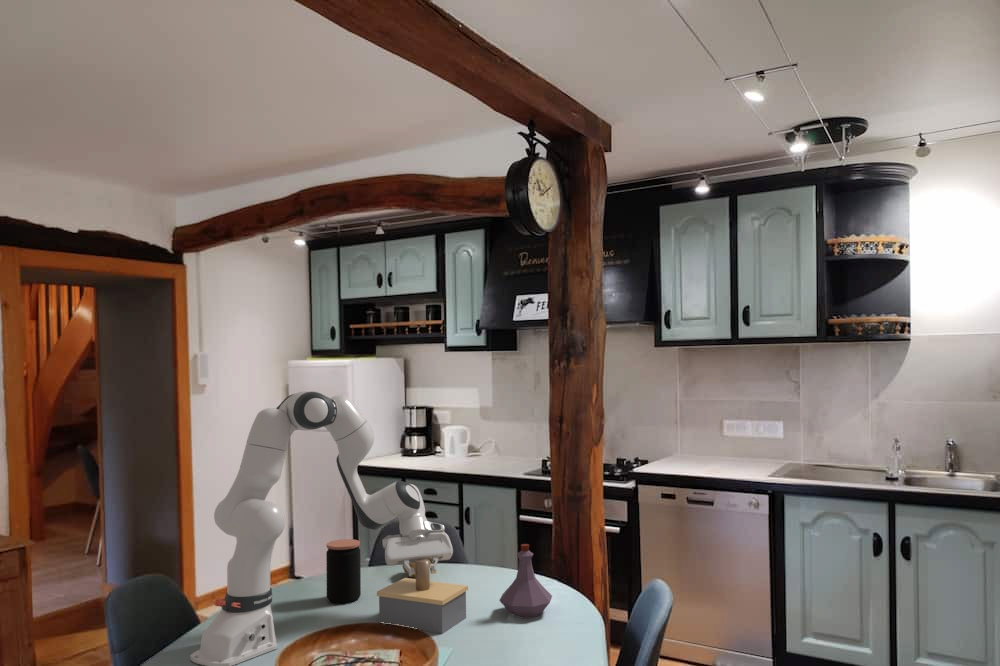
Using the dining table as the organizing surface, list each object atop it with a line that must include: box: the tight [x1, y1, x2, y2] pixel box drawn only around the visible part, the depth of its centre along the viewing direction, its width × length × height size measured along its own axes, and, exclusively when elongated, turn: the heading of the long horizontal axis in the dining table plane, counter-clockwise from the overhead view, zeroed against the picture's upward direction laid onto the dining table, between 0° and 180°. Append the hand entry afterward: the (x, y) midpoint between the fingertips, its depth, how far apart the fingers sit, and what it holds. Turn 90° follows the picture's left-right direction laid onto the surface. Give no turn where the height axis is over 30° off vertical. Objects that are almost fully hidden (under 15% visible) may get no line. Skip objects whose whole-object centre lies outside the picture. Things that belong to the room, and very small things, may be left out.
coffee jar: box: [325, 538, 362, 605], centre depth 232 cm, size 11×11×18 cm
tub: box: [378, 591, 467, 635], centre depth 211 cm, size 14×21×8 cm, turn 65°
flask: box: [499, 543, 553, 618], centre depth 217 cm, size 16×16×20 cm
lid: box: [376, 559, 469, 605], centre depth 211 cm, size 15×22×11 cm
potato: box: [402, 561, 432, 579], centre depth 256 cm, size 10×14×8 cm
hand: (423, 574), depth 211 cm, fingers open, 5 cm apart
